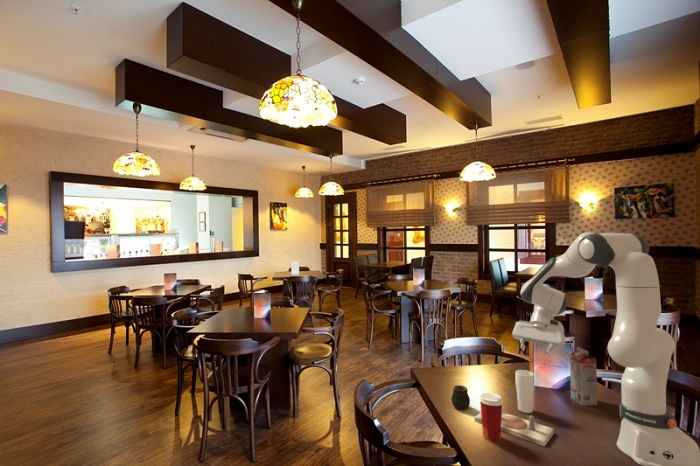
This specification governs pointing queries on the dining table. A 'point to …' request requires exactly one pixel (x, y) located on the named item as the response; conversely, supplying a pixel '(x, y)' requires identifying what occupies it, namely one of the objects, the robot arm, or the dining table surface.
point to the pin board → (523, 428)
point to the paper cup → (491, 416)
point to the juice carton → (583, 377)
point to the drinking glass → (525, 390)
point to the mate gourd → (460, 397)
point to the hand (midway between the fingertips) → (534, 350)
